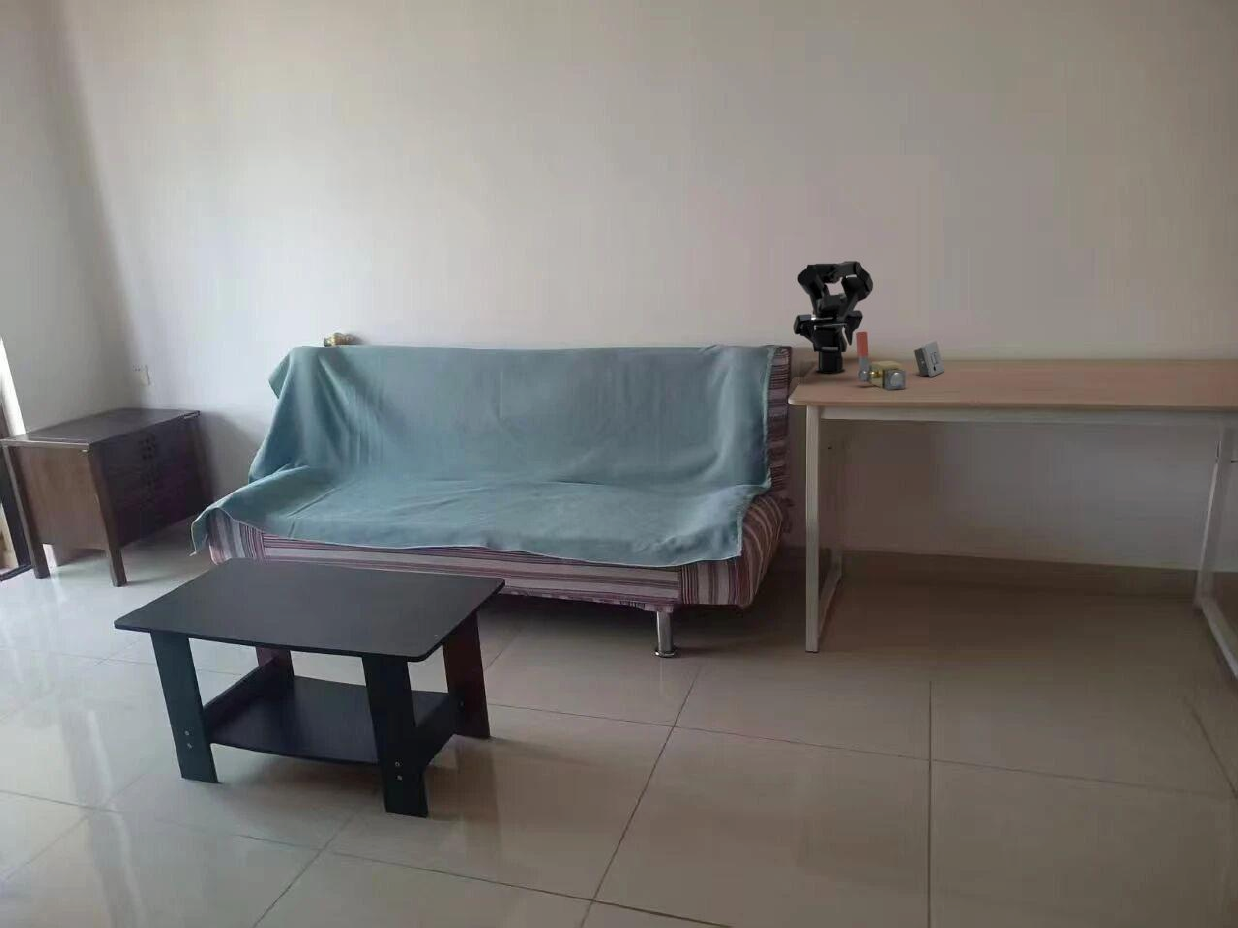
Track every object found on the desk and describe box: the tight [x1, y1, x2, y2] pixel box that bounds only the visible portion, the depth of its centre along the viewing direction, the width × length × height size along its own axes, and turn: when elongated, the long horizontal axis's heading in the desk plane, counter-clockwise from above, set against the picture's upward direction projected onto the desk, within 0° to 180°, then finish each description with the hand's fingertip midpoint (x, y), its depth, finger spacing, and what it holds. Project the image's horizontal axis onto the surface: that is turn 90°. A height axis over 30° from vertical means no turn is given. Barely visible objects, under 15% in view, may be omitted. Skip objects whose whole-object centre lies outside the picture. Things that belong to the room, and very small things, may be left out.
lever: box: [855, 331, 870, 383], centre depth 261 cm, size 3×2×14 cm
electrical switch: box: [913, 340, 945, 378], centre depth 273 cm, size 9×5×9 cm, turn 141°
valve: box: [868, 360, 907, 391], centre depth 262 cm, size 15×8×6 cm, turn 8°
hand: (835, 346), depth 266 cm, fingers open, 9 cm apart
